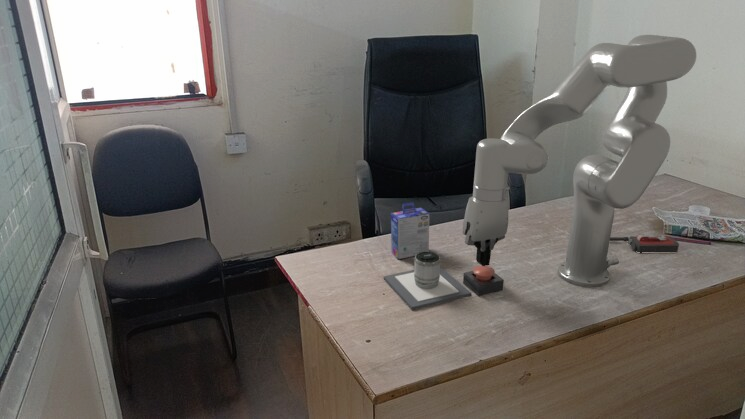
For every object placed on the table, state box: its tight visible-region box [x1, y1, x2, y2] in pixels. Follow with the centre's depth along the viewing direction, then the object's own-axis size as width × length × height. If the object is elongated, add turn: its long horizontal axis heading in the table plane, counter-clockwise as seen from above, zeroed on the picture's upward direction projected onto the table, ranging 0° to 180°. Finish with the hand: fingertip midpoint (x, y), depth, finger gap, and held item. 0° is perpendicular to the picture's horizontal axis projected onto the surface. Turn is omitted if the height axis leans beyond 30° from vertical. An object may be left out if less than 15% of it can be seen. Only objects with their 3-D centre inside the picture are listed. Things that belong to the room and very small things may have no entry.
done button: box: [472, 265, 496, 282], centre depth 132 cm, size 5×5×3 cm
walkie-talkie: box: [610, 233, 680, 254], centre depth 153 cm, size 9×4×20 cm
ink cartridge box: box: [390, 202, 430, 260], centre depth 149 cm, size 10×6×14 cm, turn 113°
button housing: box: [462, 270, 505, 297], centre depth 133 cm, size 7×7×3 cm
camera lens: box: [413, 251, 441, 289], centre depth 132 cm, size 6×6×8 cm
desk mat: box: [383, 265, 472, 311], centre depth 133 cm, size 16×16×1 cm
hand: (482, 263), depth 131 cm, fingers closed
